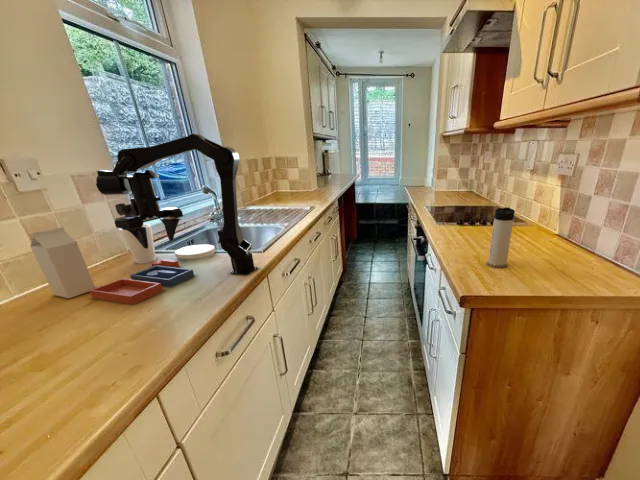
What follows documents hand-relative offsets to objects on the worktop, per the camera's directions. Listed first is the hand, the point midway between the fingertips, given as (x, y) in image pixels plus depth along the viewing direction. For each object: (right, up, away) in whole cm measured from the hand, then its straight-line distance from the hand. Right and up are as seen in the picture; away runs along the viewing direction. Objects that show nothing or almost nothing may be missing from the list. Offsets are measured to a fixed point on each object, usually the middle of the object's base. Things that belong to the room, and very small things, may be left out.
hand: (159, 244), depth 102 cm
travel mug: (+113, -6, +13) cm, 114 cm away
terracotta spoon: (-7, -6, +13) cm, 16 cm away
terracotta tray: (-3, -16, -8) cm, 18 cm away
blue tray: (0, -11, +2) cm, 11 cm away
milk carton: (-20, -16, -7) cm, 26 cm away
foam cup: (-19, -4, +19) cm, 27 cm away
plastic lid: (-2, -1, +25) cm, 25 cm away
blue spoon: (0, -11, +2) cm, 11 cm away
